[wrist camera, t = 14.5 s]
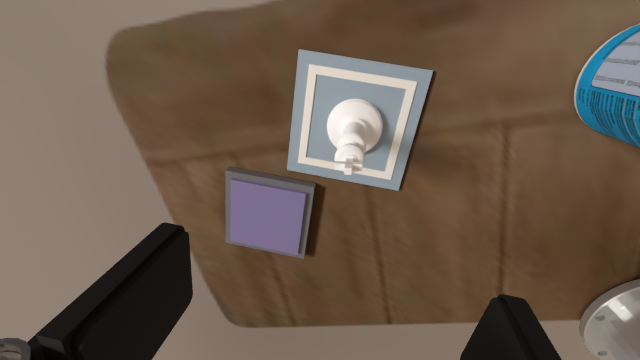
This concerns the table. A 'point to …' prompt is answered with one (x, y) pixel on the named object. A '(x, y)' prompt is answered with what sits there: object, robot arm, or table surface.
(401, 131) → the pale blue flat square
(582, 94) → the beverage bottle
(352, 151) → the chess piece
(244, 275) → the table surface
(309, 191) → the ink pad
